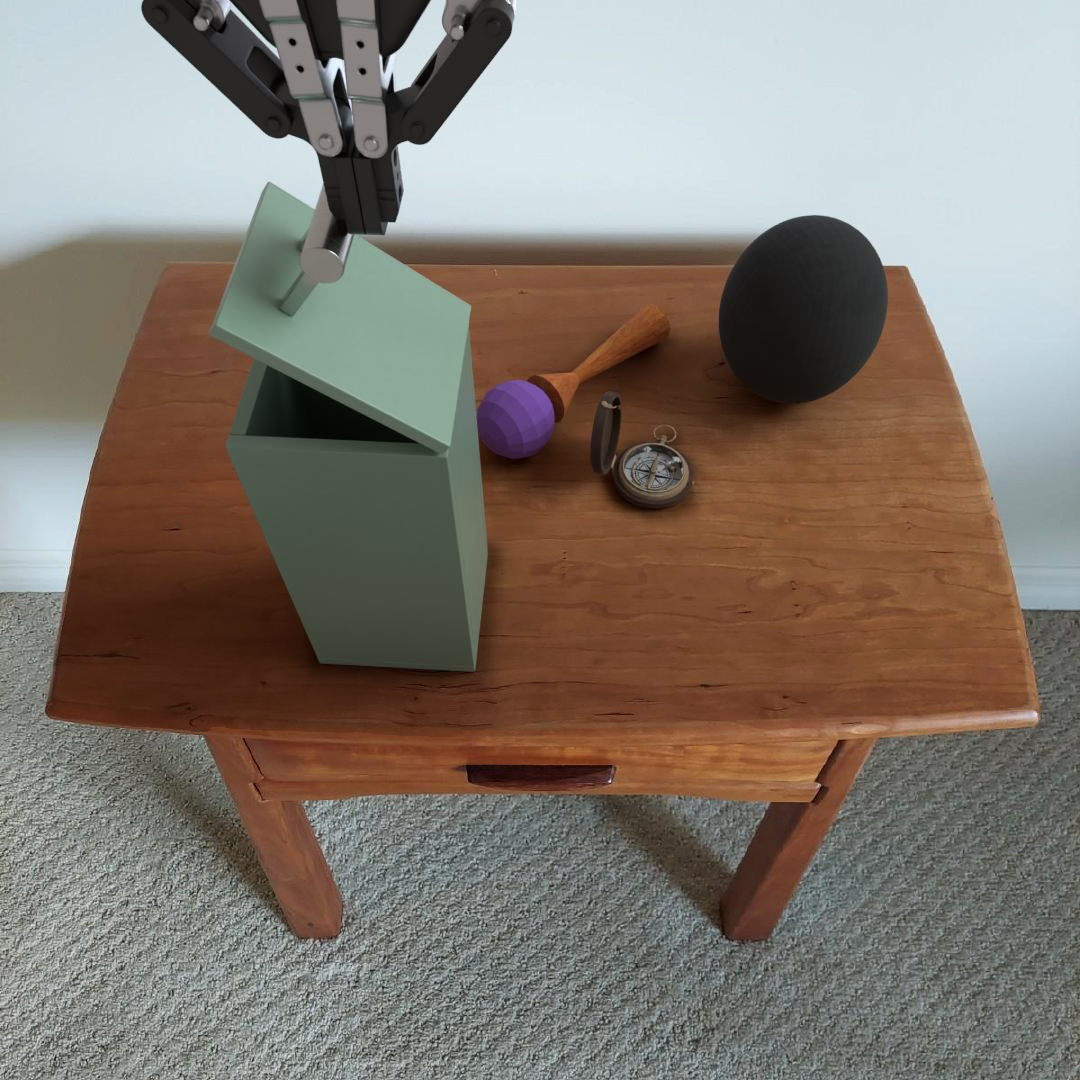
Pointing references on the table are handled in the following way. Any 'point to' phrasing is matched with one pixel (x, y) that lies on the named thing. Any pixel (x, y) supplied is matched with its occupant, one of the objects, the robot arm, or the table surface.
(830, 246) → the decorative egg
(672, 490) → the compass
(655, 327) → the kendama
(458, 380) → the bin lid
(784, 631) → the table surface
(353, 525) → the trash can
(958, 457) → the table surface
